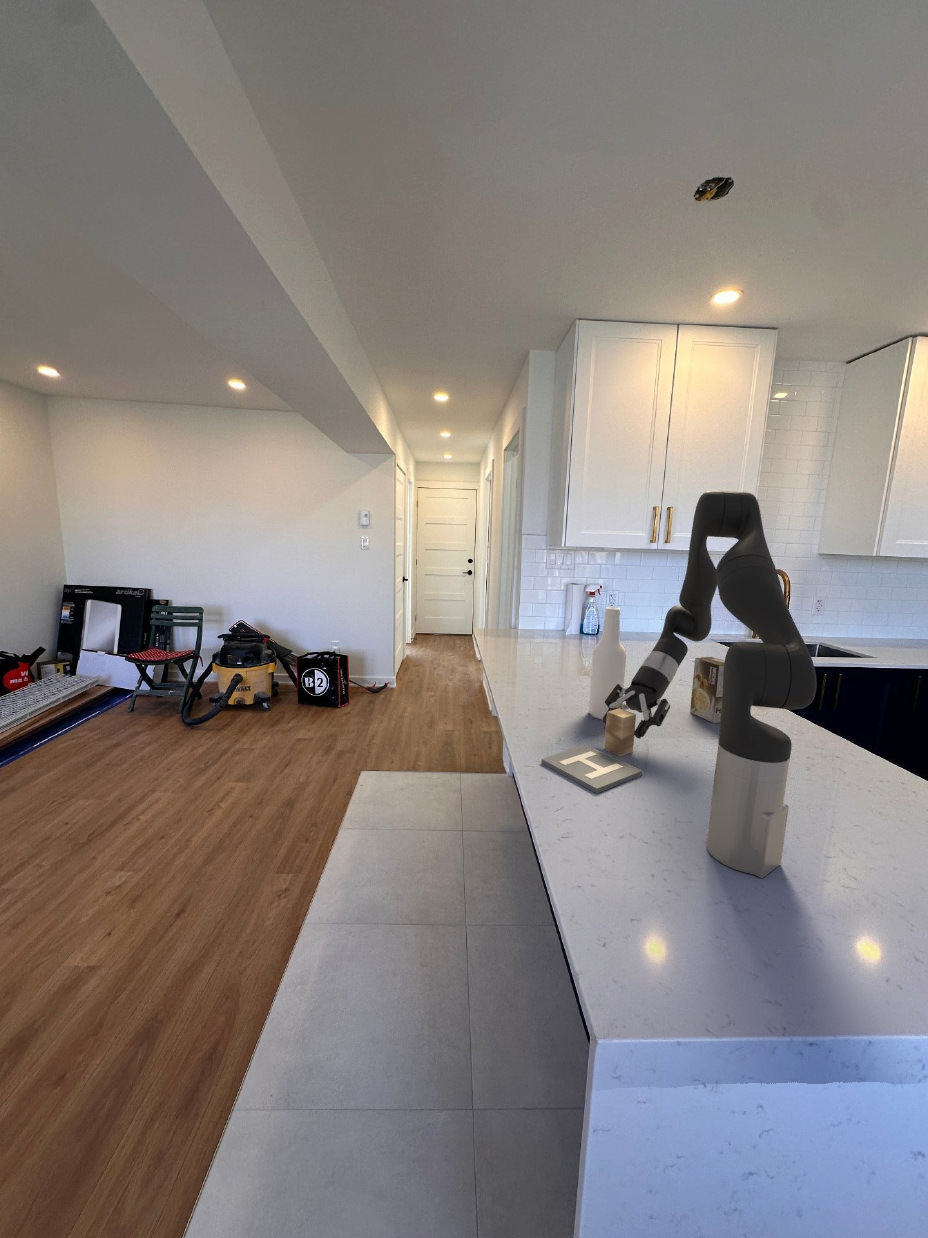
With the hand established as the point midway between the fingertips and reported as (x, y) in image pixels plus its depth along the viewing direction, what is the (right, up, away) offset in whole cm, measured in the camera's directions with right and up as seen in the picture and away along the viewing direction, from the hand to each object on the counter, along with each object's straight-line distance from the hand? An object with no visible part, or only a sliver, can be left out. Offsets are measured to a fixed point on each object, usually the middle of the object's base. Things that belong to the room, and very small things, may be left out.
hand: (620, 730), depth 112 cm
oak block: (0, -5, +1) cm, 5 cm away
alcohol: (+3, -1, +24) cm, 24 cm away
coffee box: (+33, -2, +25) cm, 41 cm away
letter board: (-9, -6, -9) cm, 14 cm away
